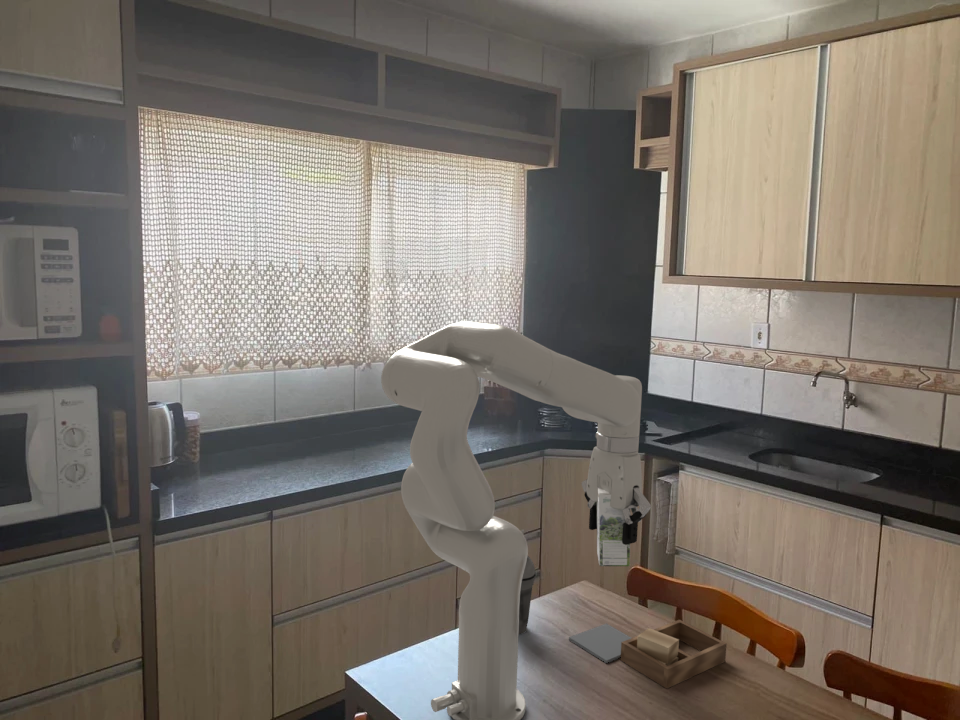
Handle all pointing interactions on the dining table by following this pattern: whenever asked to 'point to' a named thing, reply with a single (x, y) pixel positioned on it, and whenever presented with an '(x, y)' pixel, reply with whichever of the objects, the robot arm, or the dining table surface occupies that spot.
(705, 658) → the divided wooden tray
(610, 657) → the plate
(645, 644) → the offcut upper
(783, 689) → the dining table surface
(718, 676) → the dining table surface
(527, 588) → the beverage cup
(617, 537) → the syrup box
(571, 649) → the dining table surface
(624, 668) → the dining table surface
